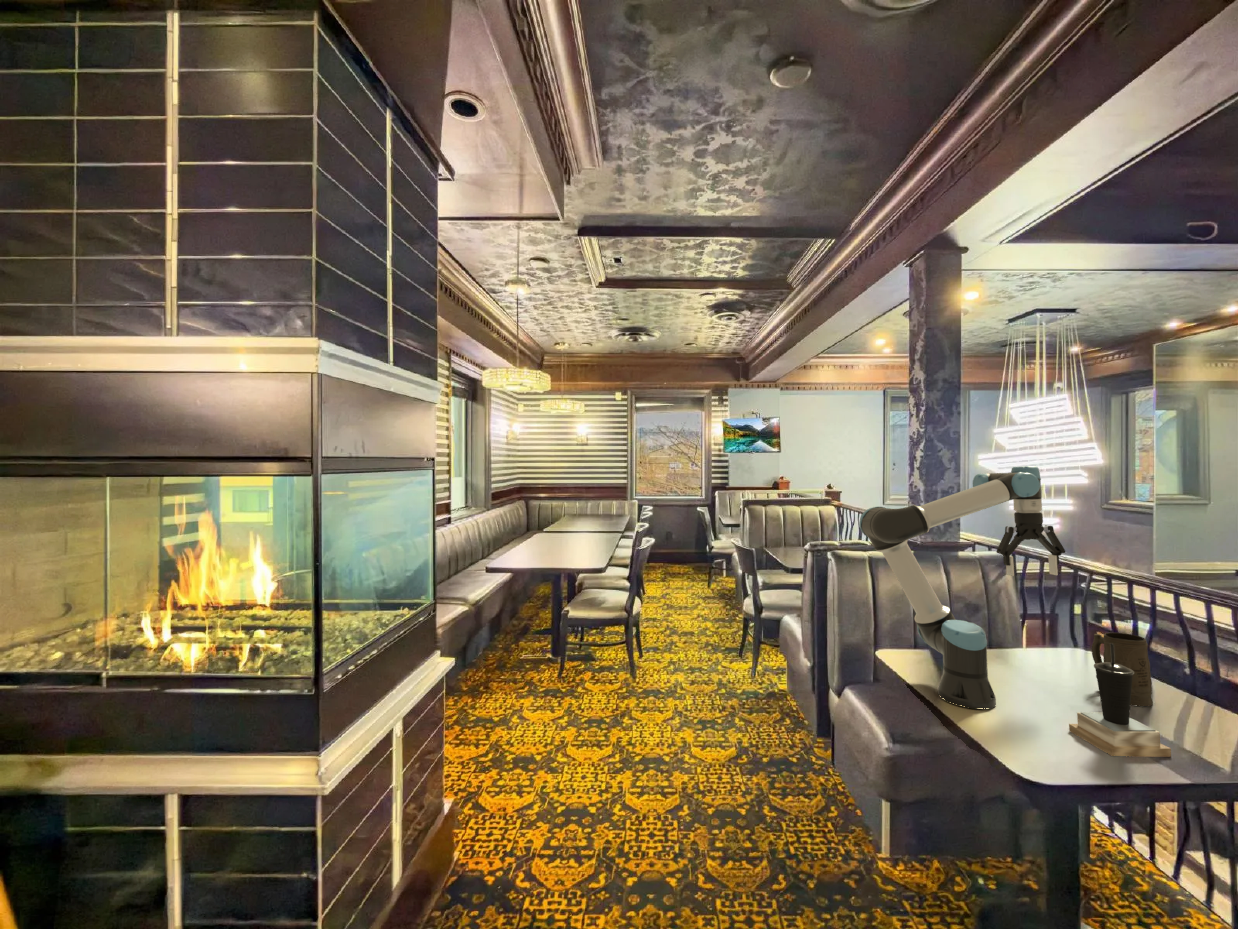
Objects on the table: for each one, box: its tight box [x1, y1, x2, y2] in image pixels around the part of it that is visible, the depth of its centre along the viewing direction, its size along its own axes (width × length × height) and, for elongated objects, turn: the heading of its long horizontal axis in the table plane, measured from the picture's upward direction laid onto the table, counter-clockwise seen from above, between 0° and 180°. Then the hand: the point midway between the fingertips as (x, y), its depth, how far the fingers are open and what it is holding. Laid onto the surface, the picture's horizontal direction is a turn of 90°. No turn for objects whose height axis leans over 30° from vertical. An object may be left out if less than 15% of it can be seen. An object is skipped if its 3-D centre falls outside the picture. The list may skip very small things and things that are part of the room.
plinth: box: [1068, 711, 1172, 758], centre depth 134 cm, size 14×13×6 cm
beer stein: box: [1090, 632, 1154, 707], centre depth 162 cm, size 15×11×20 cm
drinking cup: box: [1093, 643, 1134, 725], centre depth 135 cm, size 8×8×20 cm
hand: (1031, 575), depth 173 cm, fingers open, 13 cm apart
